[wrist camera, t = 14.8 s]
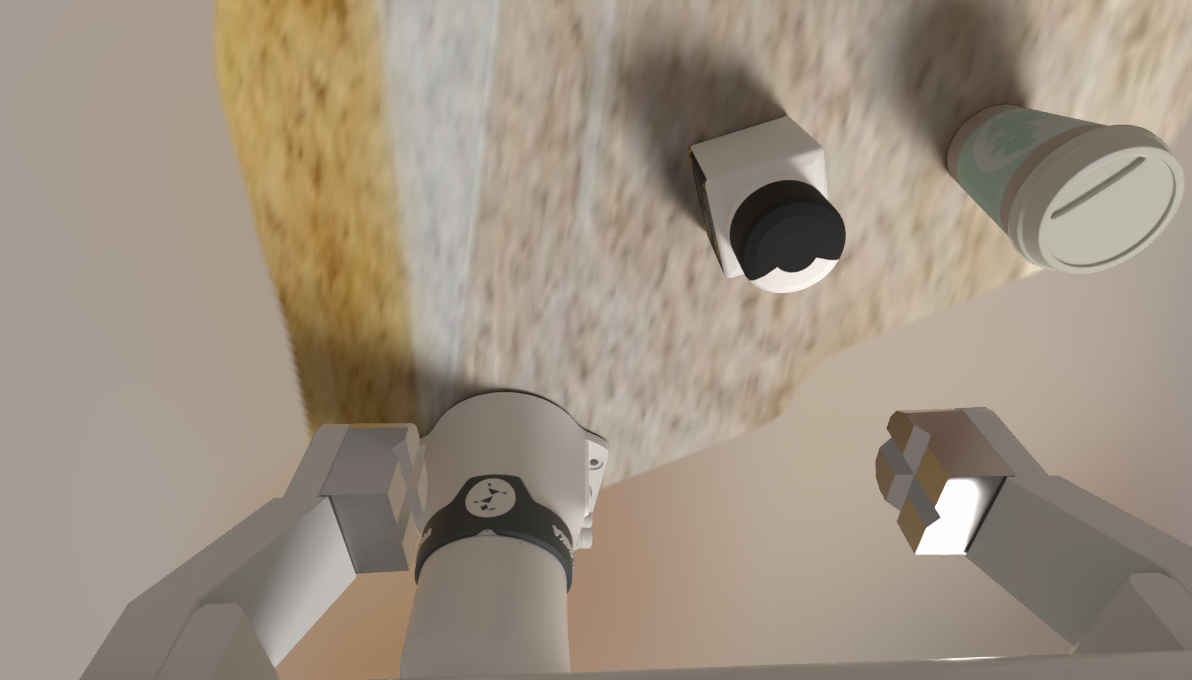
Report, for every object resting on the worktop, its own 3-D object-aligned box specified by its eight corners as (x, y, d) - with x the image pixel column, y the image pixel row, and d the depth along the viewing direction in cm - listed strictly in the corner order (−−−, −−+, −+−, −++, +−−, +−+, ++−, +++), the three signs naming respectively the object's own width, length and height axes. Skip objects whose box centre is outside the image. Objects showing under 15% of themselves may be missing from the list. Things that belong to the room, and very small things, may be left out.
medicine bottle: (686, 145, 43) (721, 213, 33) (789, 113, 42) (856, 174, 32) (706, 235, 47) (743, 320, 37) (801, 208, 46) (864, 288, 36)
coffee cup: (1066, 71, 41) (1223, 121, 31) (1037, 193, 46) (1165, 269, 36) (934, 95, 42) (1048, 151, 32) (919, 213, 47) (1014, 293, 37)
